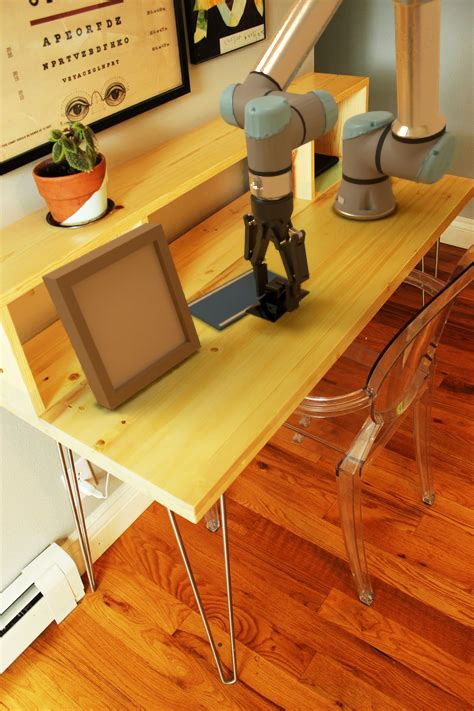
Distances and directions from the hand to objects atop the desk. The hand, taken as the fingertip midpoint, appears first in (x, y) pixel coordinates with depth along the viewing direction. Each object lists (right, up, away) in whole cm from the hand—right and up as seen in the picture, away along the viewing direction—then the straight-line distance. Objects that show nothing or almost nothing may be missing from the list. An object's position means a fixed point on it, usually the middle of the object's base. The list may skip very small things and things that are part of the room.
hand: (277, 301), depth 124 cm
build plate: (0, 0, 0) cm, 0 cm away
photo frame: (-27, -13, -6) cm, 31 cm away
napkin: (-7, +2, +9) cm, 12 cm away
